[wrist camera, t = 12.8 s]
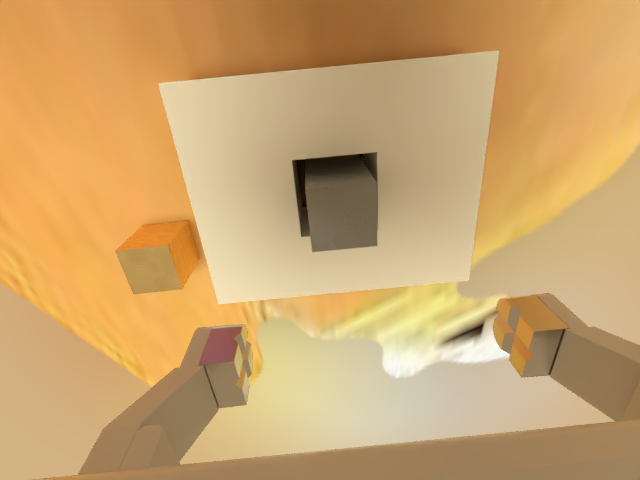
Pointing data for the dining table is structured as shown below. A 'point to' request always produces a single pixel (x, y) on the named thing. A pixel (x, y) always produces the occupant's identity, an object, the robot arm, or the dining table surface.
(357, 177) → the thick dark square peg
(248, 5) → the dining table surface
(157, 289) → the wooden toy cube
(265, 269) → the hole block
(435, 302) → the dining table surface
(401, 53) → the dining table surface
